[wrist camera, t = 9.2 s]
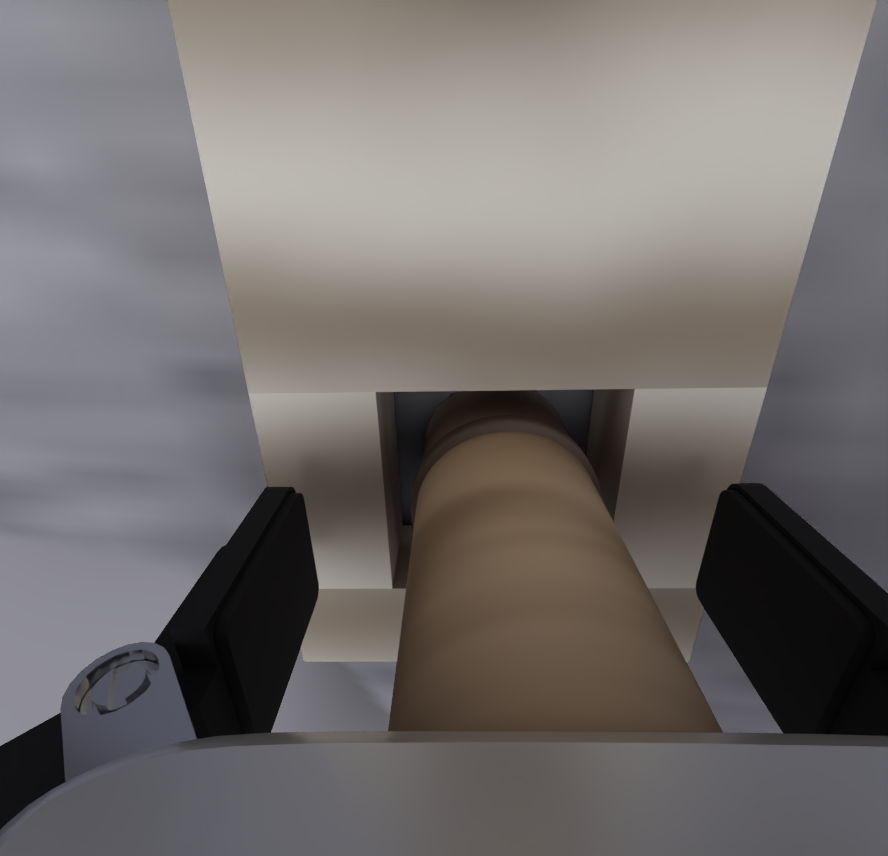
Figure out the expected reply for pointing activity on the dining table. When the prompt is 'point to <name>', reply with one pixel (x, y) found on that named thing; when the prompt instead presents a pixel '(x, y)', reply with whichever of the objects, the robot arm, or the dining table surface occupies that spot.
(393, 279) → the board
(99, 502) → the dining table surface
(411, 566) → the oak peg
